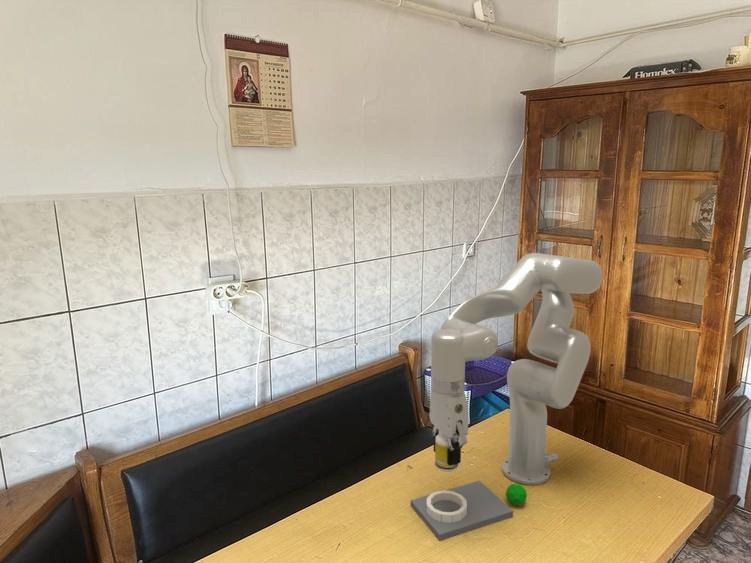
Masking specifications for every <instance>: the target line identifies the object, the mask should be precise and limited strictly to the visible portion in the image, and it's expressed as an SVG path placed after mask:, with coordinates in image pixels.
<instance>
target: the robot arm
mask: <svg viewBox="0 0 751 563" xmlns="http://www.w3.org/2000/svg"><path fill="white" fill-rule="evenodd" d="M602 281H603V270H602V268H601V265H600V264H598V262H596V261H595V260H589V259H583V258H574V257H569V256H561V255H555V254H554V255H553V254H546V253H541V252H540V253H539V252H531V253H526V254H524V255H523V256H522V257H521V258H520V259H519V260H518V261H517V263H516V264H515V265H513V267H511V269H510V270H509V272H508V273H507V274H506V275H505V276H504V277H503V278H502V279H501V280H500V281H499V282H498V283H497V285H495V286H494V287H493V288H492V289H489V290H486V291H484V292H482V293H479V294H477V295H475V296H473V297H471V298H469V299H466V300H465V301H463V302H462V303H461V304H459V305H458V306H457V307H456V308H455V309H454V310H453V311H452V312H451V313H450V314H449V315H448V317H447V318H446V319H445V321H444V322H443V323H442V325H441V327H440V329H438V330H435V331H434V332H433V333H432V336H431V341H430V342H431V346H430V347H431V348H430V349H431V352H430V358H431V359H430V360H431V361H430V364H431V365H430V383H431V384H430V398H429V399H430V401H429V414H428V416H429V419H430V422H431V427H432V435H433V453H435V439H436V436H437V435H438V434H439V430H440V431H441V432H442V433H443V434H444V435H446V436H447V437H448V443H449V449H447V464H448V465H449V466H451V465H454V464H458V465H459V464H460V463H461V460H462V457H461V456H462V454H461V453H462V452H461V451H462V450H461V449H463V446H465V445H466V444H467V443H468V439H467V436H468V434H469V415H468V414H469V413H468V402H467V396H466V393H465V387H466V386H465V385H466V384H465V383H466V382H465V381H466V380H465V379H466V377H465V376H466V362H470V361H482V360H486V359H489V358H490V357H492V356H493V355H494V354H495V352H496V351H497V349H498V346H499V338H498V335H497V334H496V333H495V332H494V331H493V330H492V329H490V328H488V327H486V326H482V325H479V324H478V323H480V322H483V321H485V320H489V319H494V318H501V317H502V318H503V317H507V316H508V317H509V316H513V315H518V314H520V313H522V311H524V309H525V308H526V307H527V306H528V304H529V303H530V302H531V301H532V300H533V298H535V296H536V295H537V294H538V293H539V291H541V296H542V300H541V306H540V308H539V312H538V314H537V316H536V319H535V321H534V323H533V325H532V329H531V331H530V332H529V335H528V340H527V350H528V352H529V353H530V354H532V355H533V356H535V357H537V358H540V359H542V360H545V361H549V362H552V363H555V364H557V366H556V367H555V366H554V367H553V366H550V365H548V364H544V363H542V362H539V361H535V360H532V359H529V358H527V359H526V358H521V359H517V360H515V361H513V362H512V363H511V364H510V366H509V367H508V369H507V374H506V383H507V389H508V394H509V428H508V451H507V452H508V456H507V457H508V458H506V459H505V460H504V461H503V462H502V464H501V471H502V473H503V474H504V475H505V477H507V478H508V479H509V480H511V481H513V482H515V483H517V484H521V485H527V486H528V485H529V486H530V485H541V484H543V483H545V482H548V480H549V479H550V477H551V469H550V467H549V466H548V465H550V464H551V463H554V462H557V461H559V459H560V457H559V454H557V453H552V454H550V455H549V452H548V451H546V447H547V446H546V445H547V426H548V411H547V406H548V407H550V408H553V409H559V410H562V409H565V408H567V407H569V405H570V404H571V403H572V401H573V399H574V397H575V395H576V392H577V391H578V388H579V386H580V383H581V380H582V377H583V375H584V373H585V370H586V368H587V365H588V362H589V359H590V356H591V347H592V346H591V345H592V344H591V341H590V338H589V336H588V335H587V334H586V333H584V332H583V331H580V330H578V329H574V328H570V326H571V324H572V321H573V318H574V316H575V305H574V304H575V303H574V302H573V299H572V296H571V294H577V295H578V294H579V295H589V294H590V295H591V294H592V293H594V292H595V291H597V290H598V289H599V288H600V286H601V285H602ZM455 432H456V434H455ZM453 434H454V435H453ZM453 438H457V441H456V442H454V443H453Z"/></svg>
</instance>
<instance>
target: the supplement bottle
mask: <svg viewBox="0 0 751 563" xmlns="http://www.w3.org/2000/svg"><path fill="white" fill-rule="evenodd" d="M455 434H456V432H455ZM453 435H454V434H453ZM456 441H457V438H453V443H454V442H456ZM447 449H449V443H448V437H447V436H446V435H444V434H443V433H442V432H441V431H440V430H439V434H438V435H437V436H436V439H435V452H434V466H435V467H436V469H438V471H440V472H447V473H448V472H454V471H456V470H457V469H458V467H459V463H458V464H454V465H451V466H449V465H448V464H447Z"/></svg>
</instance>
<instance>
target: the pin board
mask: <svg viewBox="0 0 751 563" xmlns="http://www.w3.org/2000/svg"><path fill="white" fill-rule="evenodd" d="M410 507H411V508H412V509H413V511H414V512H415V513H416V515H418V516H419V518H420V519H421V520H422V522H424V523H425V525H426V526H427V527H428V529H429V530H430V531H431V532H432V533H433V534H434V537H436V539H437V540H439V542H440V541H442V540H446V539H450V538H451V537H454V536H455V537H456V536H458V535H461V534H465V533H467V532H470V531H473V530H476V529H479V528H483V527H485V526H489V525H491V524H495V523H498V522H500V521H504V520H507V519H510V518H513V517H514V510H513V509H512V508H510V506H508V505H507V504H506V503H505V502H504V501H503V500H502V499H501V498H499V496H497V495H496V494H495V493H494V492H492V490H490V489H489V488H488V487H487V486H486V485H485V484H484V483H483V482H482V481H481V480H475V481H473V482H469V483H465V484H463V485H458V486H456V487H452V488H448V489H444V490H438V491H434V492H432V493H430V494H427V495H424V496H420V497H417V498H414V499H410Z"/></svg>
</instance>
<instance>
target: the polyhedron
mask: <svg viewBox="0 0 751 563" xmlns="http://www.w3.org/2000/svg"><path fill="white" fill-rule="evenodd" d="M505 496H506V499H507V501H508V503H510V504H511V505H513V506H522V505H523V504H525V503H526V499H527V497H528V494H527V490H526V489H525V487H524V486H523V485H522V484H520V483H511V484H510V485H509V486H508V487H507V488H506V491H505Z"/></svg>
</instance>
